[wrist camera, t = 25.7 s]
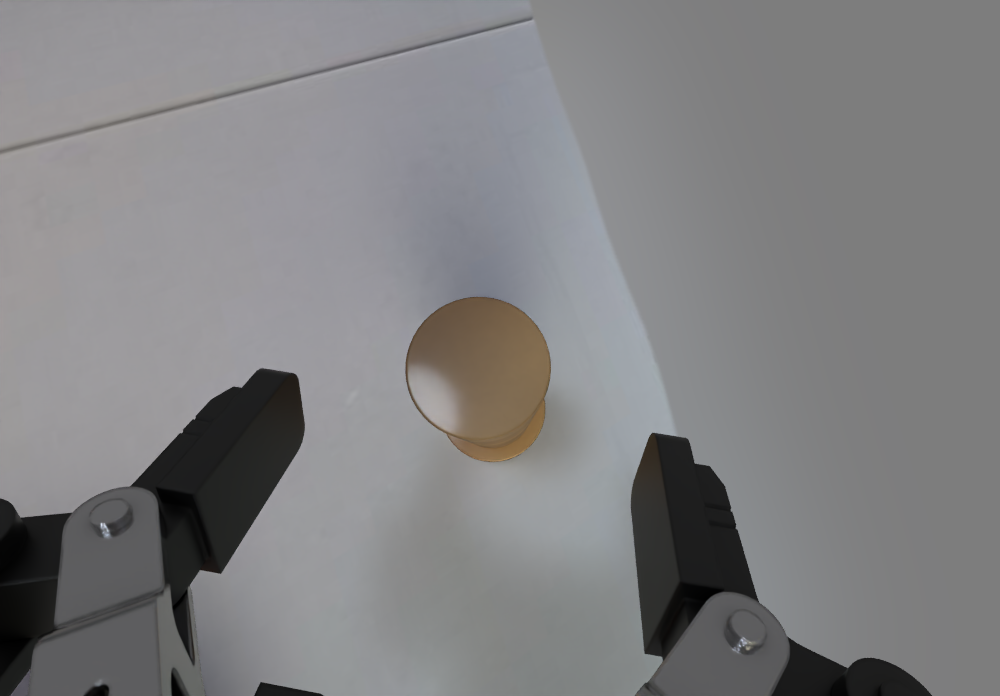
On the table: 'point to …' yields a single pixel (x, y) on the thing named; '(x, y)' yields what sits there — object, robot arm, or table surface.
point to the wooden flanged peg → (481, 376)
